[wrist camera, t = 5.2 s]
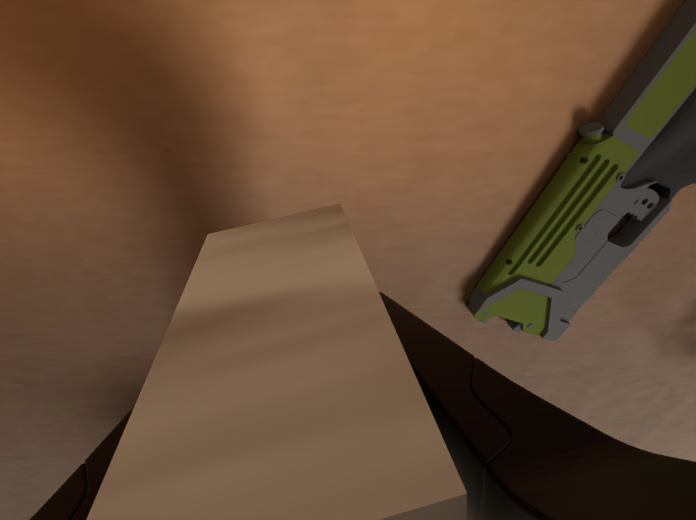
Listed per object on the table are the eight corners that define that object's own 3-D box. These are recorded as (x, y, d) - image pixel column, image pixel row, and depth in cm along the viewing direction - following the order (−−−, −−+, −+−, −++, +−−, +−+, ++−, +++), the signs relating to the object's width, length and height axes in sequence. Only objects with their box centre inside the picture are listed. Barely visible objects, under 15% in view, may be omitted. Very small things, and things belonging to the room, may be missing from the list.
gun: (597, 341, 27) (446, 297, 22) (836, 102, 19) (682, -51, 14) (624, 366, 25) (463, 323, 20) (907, 107, 17) (754, -72, 12)
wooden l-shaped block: (393, 475, 19) (458, 710, 12) (323, 495, 18) (349, 747, 12) (339, 203, 10) (467, 493, 3) (207, 234, 10) (43, 618, 3)
